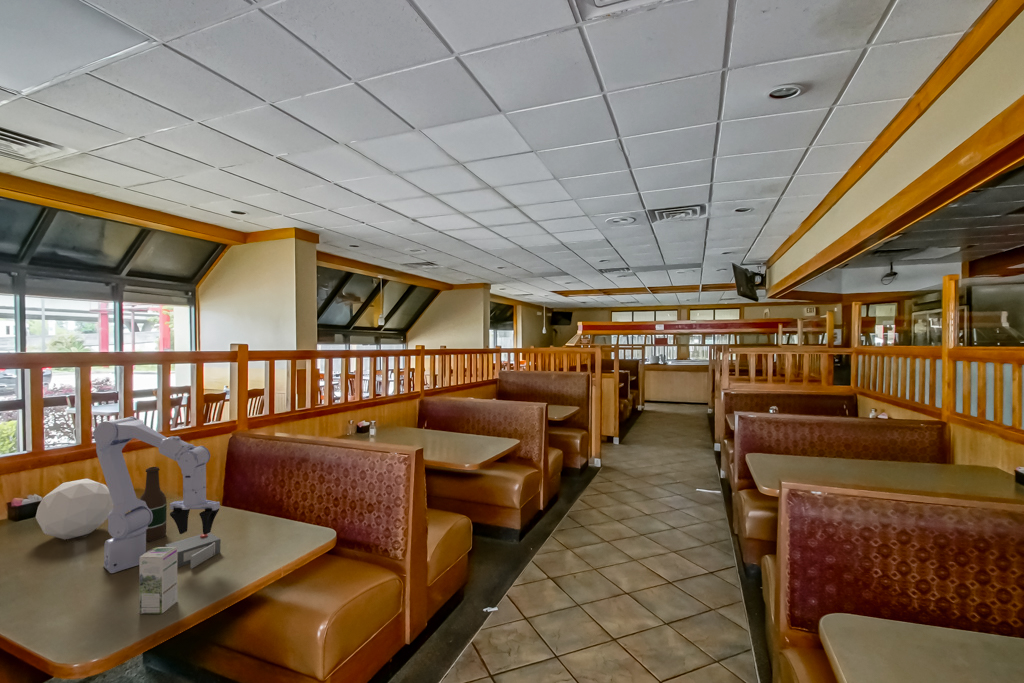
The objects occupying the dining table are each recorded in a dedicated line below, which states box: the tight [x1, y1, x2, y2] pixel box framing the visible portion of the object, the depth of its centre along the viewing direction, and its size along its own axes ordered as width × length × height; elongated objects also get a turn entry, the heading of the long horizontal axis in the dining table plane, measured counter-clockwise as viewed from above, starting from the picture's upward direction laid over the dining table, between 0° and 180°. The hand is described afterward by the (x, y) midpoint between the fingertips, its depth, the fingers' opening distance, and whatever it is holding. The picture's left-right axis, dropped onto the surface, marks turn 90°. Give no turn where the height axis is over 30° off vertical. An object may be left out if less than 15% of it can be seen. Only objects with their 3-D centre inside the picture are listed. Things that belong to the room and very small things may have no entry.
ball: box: [35, 478, 114, 541], centre depth 156 cm, size 19×20×20 cm
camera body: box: [164, 532, 221, 568], centre depth 141 cm, size 13×9×5 cm
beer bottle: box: [139, 466, 168, 543], centre depth 155 cm, size 8×8×24 cm
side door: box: [190, 542, 216, 569], centre depth 138 cm, size 9×1×4 cm, turn 174°
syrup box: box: [138, 546, 178, 615], centre depth 114 cm, size 6×6×14 cm
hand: (195, 533), depth 136 cm, fingers open, 7 cm apart
